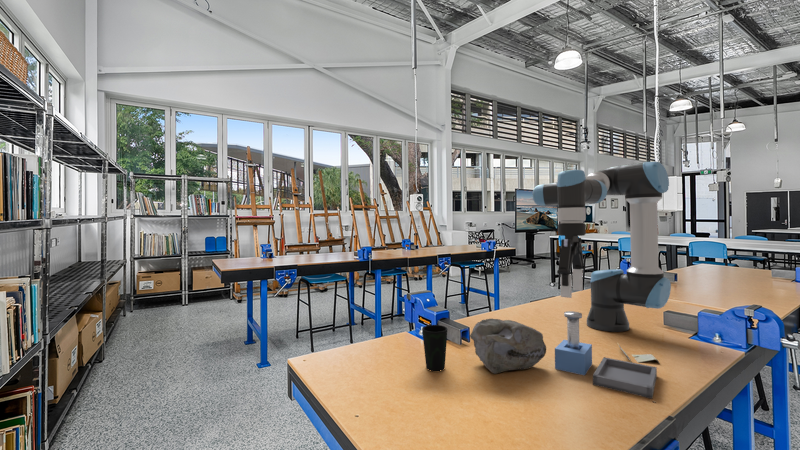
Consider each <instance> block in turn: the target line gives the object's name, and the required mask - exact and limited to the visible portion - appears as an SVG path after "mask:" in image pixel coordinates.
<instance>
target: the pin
mask: <svg viewBox="0 0 800 450" xmlns="http://www.w3.org/2000/svg"><path fill="white" fill-rule="evenodd" d="M563 316H564V318H566V321H567V323H566V324H567V327H566V329H567V332H566V333H567V334H566V335H567V340H568V348H571V349H576V350H579V342H580V319H582V318H583V313H582V312H579V311H572V310H571V311H570V310H569V311H564V313H563Z"/></svg>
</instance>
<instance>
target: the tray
mask: <svg viewBox="0 0 800 450" xmlns="http://www.w3.org/2000/svg"><path fill="white" fill-rule="evenodd" d="M657 369H658V367H657V366H652V365H647V364H640V363H638V362H637V363H636V362H632V361H625V360H620V359H615V358H609V357H606V356H604V357H603V358H602V359H601V361H600V363H599V365H598V366H597V367H596V370H595V371H594V372H593V374H592V385H593V386H597V387H601V388H604V389H610V390H614V391H617V392H623V393H625V394H631V395H635V396H637V397H638V396H639V397H643V398H647V399H650V400H651V399H653V397H654V396H653V395H654V391H655V387H656V382H657V377H658V375H657V374H658V372H657Z"/></svg>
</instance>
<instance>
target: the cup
mask: <svg viewBox="0 0 800 450" xmlns="http://www.w3.org/2000/svg"><path fill="white" fill-rule="evenodd" d="M421 330H422V340H423V349H424V357H425V358H424V359H425V367H426V370H427V369H429V370H431V371H430V372H433V371H439V372H441V371H440V370H443V369H444V368H445V369H446V354H447V345H448V344H447V341H448V328H447V326H444V325H440V324H429V325H424V326H423V327H422V328H421ZM445 369H444V370H445ZM429 370H428V371H429ZM444 370H443V371H444Z"/></svg>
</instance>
